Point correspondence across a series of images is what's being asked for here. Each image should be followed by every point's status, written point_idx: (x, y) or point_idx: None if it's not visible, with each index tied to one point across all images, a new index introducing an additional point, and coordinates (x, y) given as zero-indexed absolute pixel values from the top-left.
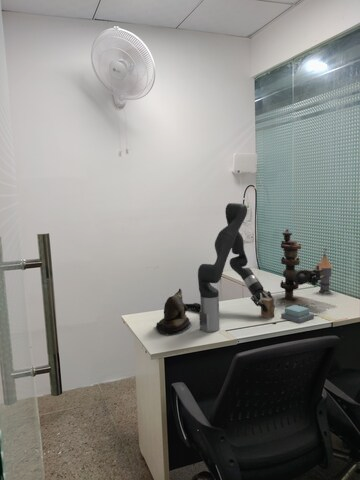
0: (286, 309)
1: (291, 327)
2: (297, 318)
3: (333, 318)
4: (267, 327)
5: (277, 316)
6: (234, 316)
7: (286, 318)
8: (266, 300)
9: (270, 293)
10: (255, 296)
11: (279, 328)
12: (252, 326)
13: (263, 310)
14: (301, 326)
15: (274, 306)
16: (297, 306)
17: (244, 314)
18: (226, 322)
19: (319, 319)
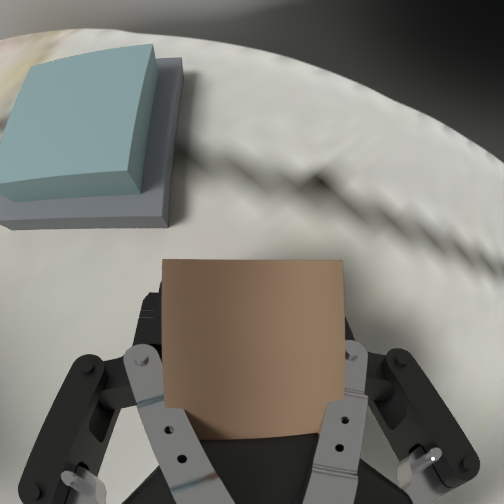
0: (132, 154)
1: (289, 72)
2: (179, 72)
3: (18, 56)
4: (406, 167)
5: None
6: None
7: (171, 172)
8: (342, 294)
9: (31, 460)
10: (409, 486)
11: (359, 109)
12: (459, 245)
13: None
14: (230, 49)
15: (161, 288)
16: (19, 138)
17: None
18: (499, 393)
19: None
